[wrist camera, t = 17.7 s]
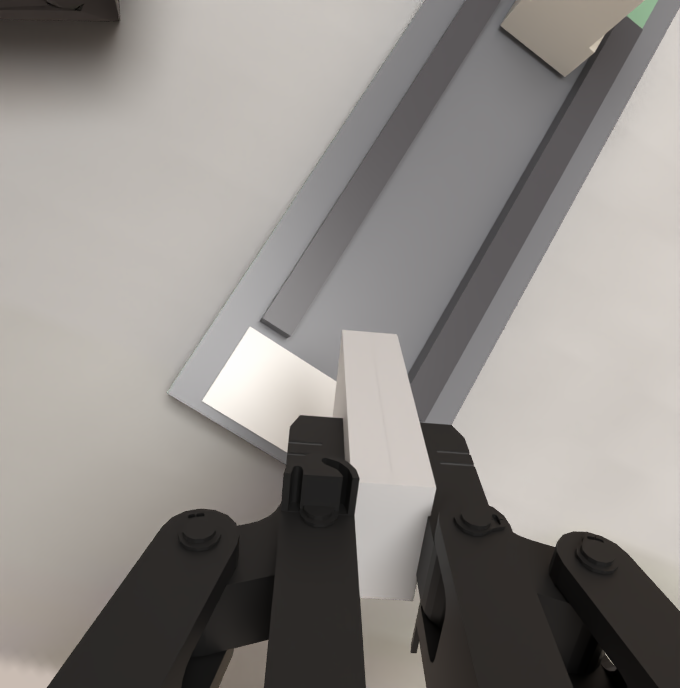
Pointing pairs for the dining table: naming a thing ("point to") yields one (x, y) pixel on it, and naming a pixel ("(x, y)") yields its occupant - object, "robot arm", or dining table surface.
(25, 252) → the dining table surface
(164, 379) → the dining table surface
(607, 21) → the breaker handle
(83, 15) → the electrical switch
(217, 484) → the dining table surface
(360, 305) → the panel
